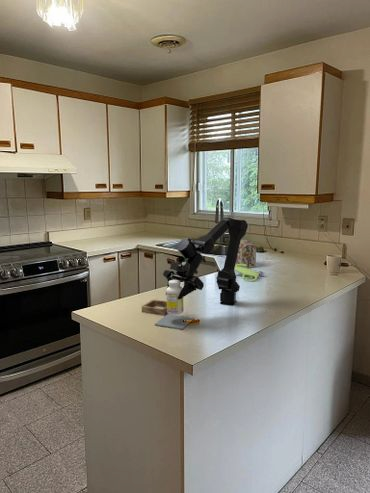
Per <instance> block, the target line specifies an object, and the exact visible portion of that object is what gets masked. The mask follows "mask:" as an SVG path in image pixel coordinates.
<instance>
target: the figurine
mask: <svg viewBox="0 0 370 493" xmlns="http://www.w3.org/2000/svg"><path fill="white" fill-rule="evenodd" d="M239 266H242V267H239ZM244 267H247V265H246V264H235V269H234V271H235V272H237V273H239V274H240V275H242V276H241V277H242V279H244V281H245V282H247V283H249V282H250V283H253V282H255V281H257V279H258V277H264V275H265V272H263V271H260V270H259V271H257V270H253V269H252V268H244ZM245 276H248V277H245Z"/></svg>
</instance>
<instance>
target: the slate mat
mask: <svg viewBox="0 0 370 493" xmlns="http://www.w3.org/2000/svg"><path fill="white" fill-rule="evenodd" d="M183 320H193V321H194V320H195V317H189V316H182V315H172V314H169V313H166V314H165V315H164V316H163V317H162V318H160V319H159V320H158V321H157V322H155V323H154V326H155V325H156V326H157V327H161V328H167V327H168V329H173V328H174V329H175V330H180V331H181V330H182V331H184V329H186V328H187V327H188V326H189V325H190V324H191V323H190V322H183ZM189 323H190V324H189ZM188 324H189V325H188ZM156 326H155V327H156ZM174 329H173V330H174Z"/></svg>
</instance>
